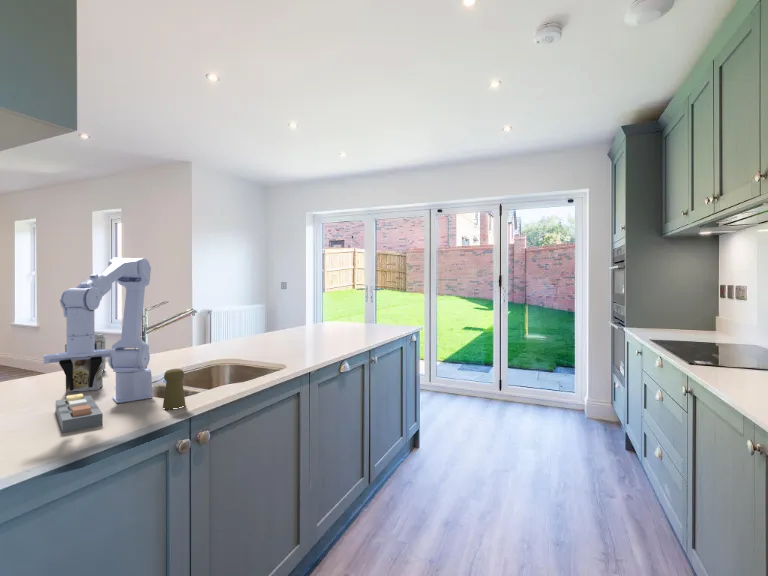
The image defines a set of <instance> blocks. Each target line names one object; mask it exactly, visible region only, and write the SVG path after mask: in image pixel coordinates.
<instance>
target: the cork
mask: <svg viewBox="0 0 768 576" xmlns="http://www.w3.org/2000/svg"><path fill="white" fill-rule="evenodd" d="M163 377H164V380H165V382H166V383H165V389H164V396H163V402H162V403H163V404H162V409H163V408H165V409H173V408H179V407H182V406H185V404H186V399H185V393H184V384H183V379H184V377H185V371H184V370H183V369H180V368H173V369H172V368H171V369H168V370H166V371H165V372H164V375H163ZM185 407H186V406H185Z"/></svg>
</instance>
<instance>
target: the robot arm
mask: <svg viewBox="0 0 768 576" xmlns="http://www.w3.org/2000/svg"><path fill="white" fill-rule="evenodd" d="M151 270H152V268H151V265H150V261H149V260H148V259H147V258H146V257H141V258H140V257H136V258H134V257H132V258H131V257H112V258H111V259H110V260H109V261H108V264H107V268H105V270H104V271H102V272H101V273H91V274H90V275H89V277H88V278H87V279H85V280H84V281H82V282H80V283H79V285H77V286H76V287H70V288H67V289H66V290H64V291H63V292H62V293H61V296H60V297H61V298H60V299H59V302H60V307H61V308H62V310H63V311H62V312H63V317H64V318H66V320H65V321H66V322H65V323H66V344H67V352H65V351H64V352H59V353H58V352H57V353H51V354H43V355H42V356H43V364H44V365H48V364H52V363H53V364H54V363H58V365H59V366H60V367H61V370H62V371H63V373H64V374H65V378H66V377H67V380H68V384H69V389H70V390H74V385H73V364H72V361H74V360H83V359H89V360H88V365H89V377H88V387H89V388H91V387H93V382H94V378H95V375H96V373H97V371H98V368H99V367H100V365H101V363H102V358H103V357H105V358H108V359H107V361H108V362H107V363H108V365H109V368H110V369H112V371H113V372H114V373H115V395H114V396H112V397H111V398H112V399H113V400H114V402H115V403H116V404H121V403H127V402H133V401H139V400H146V399H152V398H153V391H152V390H153V388H152V387H153V385H152V384H153V382H152V381H153V380H152V379H153V377H152V371H151V369H150V368H147V367H148V365H149V364H150V360H151V359H150V357H151V356H150V349H149V348H150V345H149V344H148V343H147V342H145V341H144V340H143V339H141V334H142V333H141V331H142V321H143V311H144V309H143V308H144V299H145V290H146V287H147V286H149V285H150V280H151ZM115 282H116V283H118V284H119V285H120V286H122V287H124V288H125V290H126V292H125V297H124V299H125V300H124V310H123V319H122V328H121V338H120V339H119V340H117V341H116V342H115V343H113V344H112V346H111V348H105V349H102V350H95V334H96V333H95V310H97V309H98V308H99V306H100V303H101V301H102V299H103V297H104V296H105V295H106V294H107V293H108V292H110V291H111V290H112V288H113V287H112V286H113V283H115ZM87 356H91V357H87ZM74 357H81V358H74ZM150 397H151V398H150Z"/></svg>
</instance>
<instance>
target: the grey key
mask: <svg viewBox="0 0 768 576" xmlns="http://www.w3.org/2000/svg"><path fill="white" fill-rule="evenodd" d="M83 405H87V401H86V399H81V400H75V401H69V410H71V407H77V406H83Z"/></svg>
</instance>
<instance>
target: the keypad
mask: <svg viewBox="0 0 768 576" xmlns="http://www.w3.org/2000/svg"><path fill="white" fill-rule="evenodd" d="M83 396H84V399H86V401H87V405H89V406H90V407H91V414H86V415H80V416H74V417H72V415H71V410H69V404H66V398H65V399H58V400H55V414H56V417H57V420H58V423H59V427H60V430H61V432H62V434H65V433H70V432H75V431H79V430H85V429H90V428H96V427H100V426H103V422H104V421H103V416H104V415H103V412H102V410H101V409H100V407H99V406H98V404H97V403H96V401H95V400H94V398H93V397H92V395H90V394H89V395H83Z"/></svg>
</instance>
